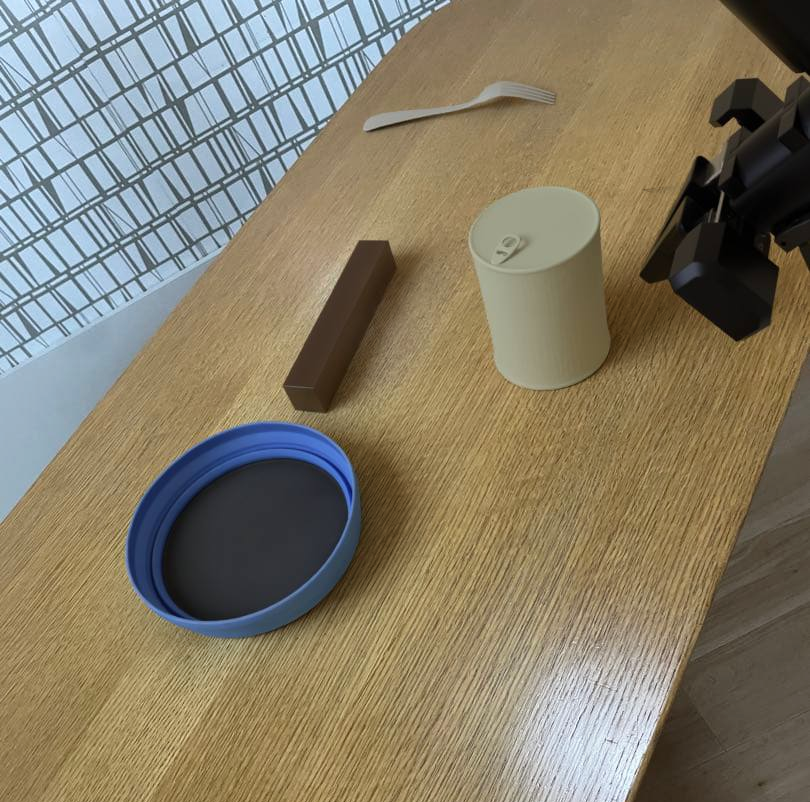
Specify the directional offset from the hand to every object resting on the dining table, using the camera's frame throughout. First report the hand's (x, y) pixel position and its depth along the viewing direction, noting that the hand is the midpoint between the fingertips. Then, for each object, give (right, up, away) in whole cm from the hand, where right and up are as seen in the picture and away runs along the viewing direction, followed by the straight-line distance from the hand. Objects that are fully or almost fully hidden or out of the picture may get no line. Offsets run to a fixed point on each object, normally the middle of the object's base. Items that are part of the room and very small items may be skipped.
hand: (644, 276), depth 59 cm
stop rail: (-22, 0, +16) cm, 27 cm away
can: (-5, -3, +9) cm, 11 cm away
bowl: (-28, -19, +5) cm, 34 cm away
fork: (-11, +27, +31) cm, 43 cm away
